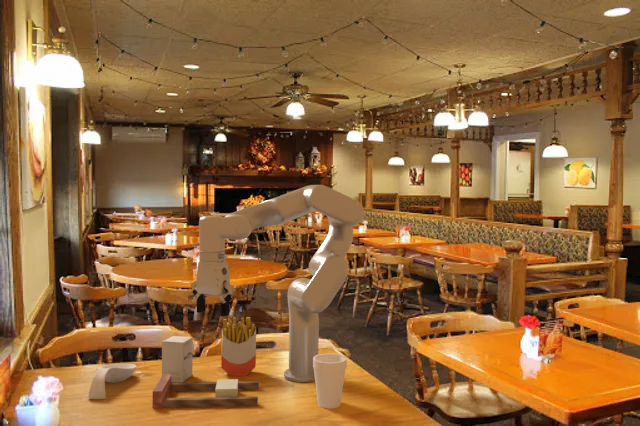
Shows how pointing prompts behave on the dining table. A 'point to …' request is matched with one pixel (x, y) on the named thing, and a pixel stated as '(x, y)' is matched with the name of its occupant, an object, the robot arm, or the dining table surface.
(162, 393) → the guide track
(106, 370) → the spoon rest
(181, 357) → the supplement box
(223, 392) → the block
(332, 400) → the foam cup
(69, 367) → the dining table surface
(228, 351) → the french fries container
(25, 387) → the dining table surface
